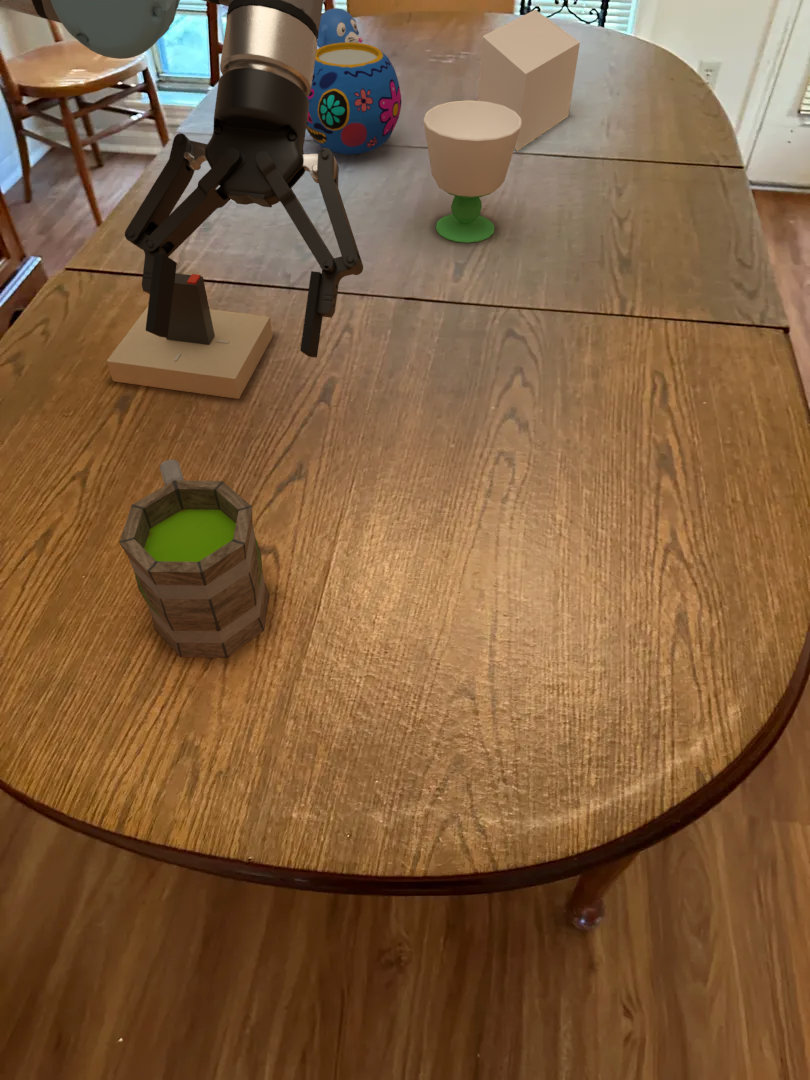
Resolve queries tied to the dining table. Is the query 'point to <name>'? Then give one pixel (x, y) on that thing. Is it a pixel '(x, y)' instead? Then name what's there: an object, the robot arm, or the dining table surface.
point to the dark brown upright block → (190, 311)
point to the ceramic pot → (352, 98)
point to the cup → (469, 161)
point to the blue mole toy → (337, 28)
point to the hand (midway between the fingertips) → (231, 344)
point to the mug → (197, 565)
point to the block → (529, 72)
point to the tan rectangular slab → (194, 356)
